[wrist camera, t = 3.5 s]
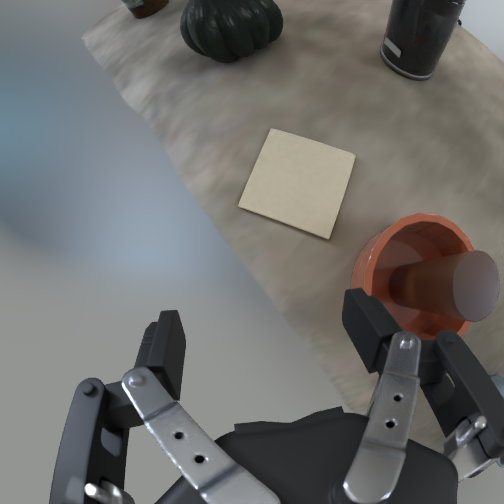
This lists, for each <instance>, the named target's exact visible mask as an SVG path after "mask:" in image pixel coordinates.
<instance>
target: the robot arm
mask: <svg viewBox="0 0 504 504" xmlns="http://www.w3.org/2000/svg"><path fill="white" fill-rule="evenodd" d="M465 1H466V0H393V1H392V6H391V10H390V15H389V19H388V23H387V28H386V32H385V36H384V40H383V43H382V45H381V49H380V54H381V57H382V58H383V60H384V61H385V62H386V64H387V65H388V66H390V67H391V68H392V69H393V70H395V71H396V72H398V73H399V74H401V75H403V76H405V77H408V78H411V79H415V80H427V79H429V78H430V77H431V76H432V74H433V72H434V69H435V67H436V65H437V63H438V61H439V59H440V57H441V55H442V53H443V51H444V49H445V47H446V45H447V43H448V41H449V38H450V36H451V34H452V32H453V30H454V28H455V25H456V23H457V22H458V24H459V25H460V26H461V21H460V20H459V16H460V13H461V11H462V9H463V6H464V4H465ZM342 321H343V325H344V328H345V329H346V331H347V333H348V335H349V337H350V339H351V340H352V342H353V344H354V346H355V348H356V350H357V352H358V353H359V355H360V357H361V359H362V361H363V363H364V365H365V367H366V369H367V370H368V372H369V374H370V373H373V372H377V371H378V373H379V377H378V380H377V383H376V386H375V389H374V392H373V395H372V398H371V401H370V404H369V407H368V409H367V412H366V414H365V416H364V415H360V414H355V413H344V412H343V409H342V406H340V407H336V408H332V409H328V410H323V411H319V412H315V413H313V414H311V415H309V416H306V417H304V418H302V419H299V420H297V421H294V422H292V423H279V422H265V421H259V422H250V423H240V424H234V426H235V431H233V432H230V433H227V434H225V435H223V436H221V437H219V438H218V439H216V440H215V441H213V440H212V439H211V438H210V437H209V436H208V435H207V434H206V433H205V432H204V431H203V430H202V428H201V427H200V426H199V425H198V424H197V423H196V422H195V421H194V420H193V419H192V417H191V416H190V415H189V414H188V413H187V412H186V411H185V410H184V408H183V407H182V406H181V405H180V404H179V403H178V402H177V401H178V400H180V391H181V383H182V374H183V365H184V357H185V349H186V339H185V334H184V330H183V327H182V323H181V320H180V317H179V313H178V311H177V310H169V311H168V310H167V311H161V313H160V316H159V320H158V322H152V323H151V324H150V325H149V326H148V327H147V328H146V330H145V333H144V336H143V339H142V343H141V346H140V349H139V353H138V356H137V359H136V363H135V366H134V368H133V369H131V370H129V371H128V372H126V373H125V374H124V376H123V378H122V381H119V382H116V383H111V384H106V385H104V384H103V383H102V382H101V380H99V379H97V378H88V379H86V380H84V381H82V382H81V383H80V384H79V385H78V386H77V388H76V391H75V394H74V397H73V400H72V403H71V407H70V410H69V413H68V417H67V420H66V424H65V427H64V431H63V435H62V439H61V442H60V446H59V451H58V456H57V460H56V465H55V469H54V475H53V481H52V486H51V493H50V500H49V504H135V503H134V500H133V498H132V497H131V496H130V495H129V494H128V493H127V492H125V491H124V480H125V467H126V456H127V446H128V438H129V429H130V428H131V427H136V426H140V425H144V424H145V426H146V427H147V429H148V430H149V432H150V433H151V434H152V436H153V437H154V439H155V440H156V441H157V443H158V444H159V446H160V447H161V448H162V450H163V451H164V452H165V454H166V455H167V456H168V458H169V459H170V460H171V461H172V463H173V464H174V465H175V466H176V468H177V469H178V470H179V471H180V473H181V474H182V476H181V477H180V478H179V479H178V480H177V481H176V482H175V483H174V484H173V485H172V486H171V487H170V488H169V490H168V491H167V492H166V493H165V494H164V495H163V496H162V497H161V498H160V499H159V500H158V501H157V502H156V503H154V504H457V489H458V483H459V482H461V481H462V480H464V479H466V478H472V477H475V476H476V475H478V474H479V473H481V472H482V471H484V470H485V469H486V468H488V467H489V466H490V465H492V464H493V463H494V462H496V461H497V460H498V459H499V458H501V457H502V456H503V455H504V398H503V396H502V395H501V393H500V392H499V390H498V389H497V387H496V386H495V384H494V383H493V381H492V380H491V378H490V377H489V375H488V374H487V372H486V371H485V370H484V368H483V367H482V365H481V364H480V363H479V361H478V360H477V358H476V357H475V356H474V354H473V353H472V352H471V350H470V349H469V348H468V346H467V345H466V344H465V342H464V341H463V340H462V339H461V337H460V336H459V335H458V334H457V333H455V332H453V331H450V330H442V331H440V332H439V333H438V334H437V336H436V338H435V340H420V338H419V337H418V336H417V335H416V334H414V333H412V332H409V331H403V330H402V328H401V327H400V326H399V324H398V323H397V322H396V321H395V319H394V318H393V317H392V315H391V314H389V311H388V310H387V309H386V308H385V306H384V305H383V304H382V303H381V301H380V300H378V299H377V298H375V297H373V296H372V295H371V296H368V295H367V294H366V292H365V291H364V290H363V289H362V288H361V287H359V288H354V289H348V290H346V291H345V297H344V305H343V312H342ZM447 372H448V374H449V375H450V377H451V378H452V380H453V382H454V385H455V388H454V386H453V385H452V383H451V381H450V380H449V378H448V376H447V375H446V374H447ZM419 385H420V387H421V389H422V391H423V392H424V394H425V396H426V398H427V400H428V402H429V404H430V406H431V408H432V410H433V412H434V414H435V416H436V418H437V420H438V422H439V424H440V426H441V428H442V430H443V433H444V435H445V437H446V440H445V443H444V453H443V454H441V453H438V452H436V451H434V450H432V449H430V448H428V447H425V446H423V445H421V444H419V443H417V442H415V441H413V440H411V439H409V438H408V437H409V433H410V429H411V425H412V421H413V417H414V412H415V407H416V402H417V397H418V391H419ZM175 401H176V402H175Z"/></svg>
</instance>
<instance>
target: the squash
mask: <svg viewBox="0 0 504 504" xmlns="http://www.w3.org/2000/svg"><path fill="white" fill-rule="evenodd" d="M282 28H283V17H282V14H281V11H280V9H279V8H278V6H277V5H276V4H275V3H274V1H273V0H189V1H188V3H187V5H186V7H185V9H184V11H183V14H182V17H181V24H180V29H181V34H182V37H183V39H184V41H185V42H186V44H187V45H188V46H189V47H190V48H191V49H193V50H194V51H195V52H197V53H199V54H201V55H203V56H208V57H211V58H212V59H214V60H216V61H218V62H224V63H225V62H230V61H233V60H234V59H236V58H237V57H238V56H241V57H249V56H251V55H252V53H253V49H261V48H264V47H265V46H266V45H267V44H269V43H271V42H273V41H275V40H276V39H277V38H278V37H279V35H280V34H281V32H282Z"/></svg>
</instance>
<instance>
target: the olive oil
mask: <svg viewBox="0 0 504 504" xmlns="http://www.w3.org/2000/svg"><path fill="white" fill-rule="evenodd" d="M122 1H123V2H124V4H125V5H126V6H127V8H128V9H129V10H130V11H131V13H132V14H133V15H134V17H136V18H143V17H146V16H149V15H151V14H153V13H155V12H157V11H159V10H160V9H162V8H163V7H164V6H165V5H166V4H167V3H168V1H169V0H122Z"/></svg>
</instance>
